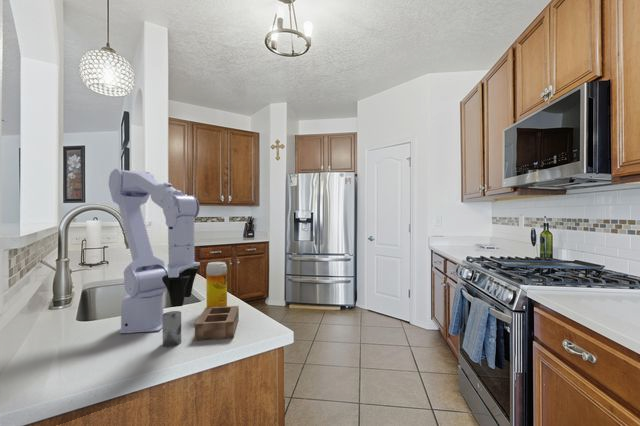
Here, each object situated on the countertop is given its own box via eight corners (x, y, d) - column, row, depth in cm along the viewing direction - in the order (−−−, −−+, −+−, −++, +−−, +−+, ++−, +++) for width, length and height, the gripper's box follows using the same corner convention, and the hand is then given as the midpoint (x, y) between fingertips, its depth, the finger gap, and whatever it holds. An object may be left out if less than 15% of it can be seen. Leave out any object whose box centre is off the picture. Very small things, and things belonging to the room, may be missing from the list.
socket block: (194, 340, 74) (194, 324, 74) (205, 321, 86) (205, 307, 86) (233, 337, 75) (233, 321, 75) (238, 319, 88) (238, 305, 88)
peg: (160, 347, 70) (159, 317, 70) (165, 340, 74) (165, 311, 74) (178, 346, 71) (178, 316, 71) (183, 339, 75) (183, 310, 75)
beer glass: (223, 313, 93) (223, 264, 93) (203, 313, 93) (203, 264, 93) (229, 307, 99) (229, 261, 99) (211, 307, 99) (210, 261, 99)
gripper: (192, 248, 67) (192, 309, 67) (204, 241, 82) (205, 292, 82) (157, 248, 66) (158, 311, 66) (176, 242, 80) (176, 293, 80)
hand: (181, 301), depth 74 cm, fingers open, 7 cm apart
